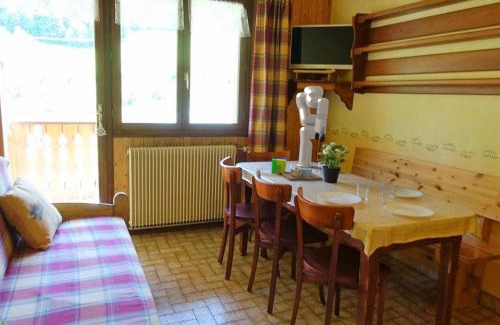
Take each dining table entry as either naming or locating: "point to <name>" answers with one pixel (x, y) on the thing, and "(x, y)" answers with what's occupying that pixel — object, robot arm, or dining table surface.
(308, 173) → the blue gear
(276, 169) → the puzzle toy
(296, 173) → the gear board
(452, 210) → the dining table surface
